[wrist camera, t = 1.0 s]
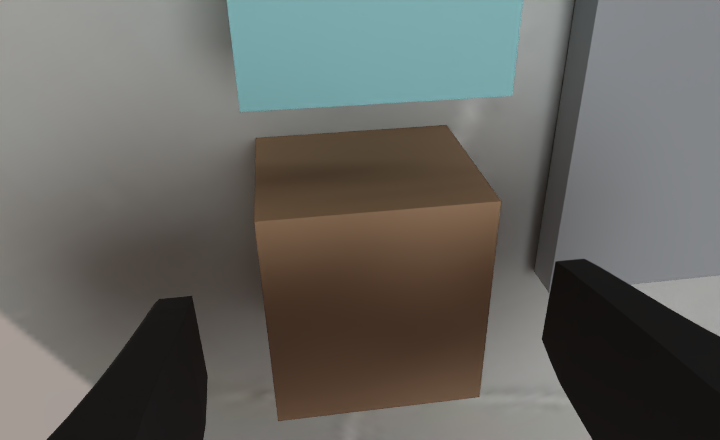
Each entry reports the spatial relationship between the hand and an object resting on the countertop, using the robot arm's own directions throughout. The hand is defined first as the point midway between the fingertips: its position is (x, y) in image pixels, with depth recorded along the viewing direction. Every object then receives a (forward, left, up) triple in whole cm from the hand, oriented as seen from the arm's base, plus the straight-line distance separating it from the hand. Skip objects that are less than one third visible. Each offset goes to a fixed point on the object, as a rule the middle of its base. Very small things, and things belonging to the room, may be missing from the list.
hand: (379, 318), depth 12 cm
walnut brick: (0, 0, -4) cm, 4 cm away
